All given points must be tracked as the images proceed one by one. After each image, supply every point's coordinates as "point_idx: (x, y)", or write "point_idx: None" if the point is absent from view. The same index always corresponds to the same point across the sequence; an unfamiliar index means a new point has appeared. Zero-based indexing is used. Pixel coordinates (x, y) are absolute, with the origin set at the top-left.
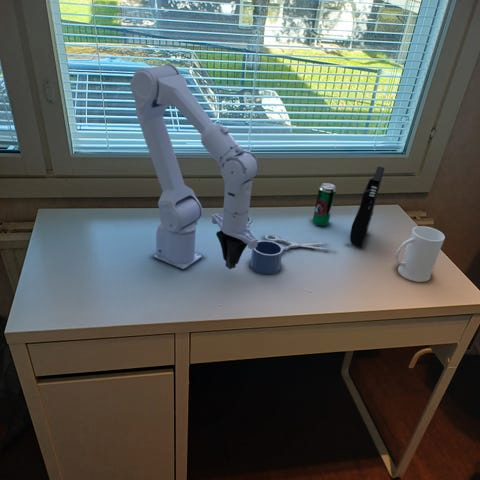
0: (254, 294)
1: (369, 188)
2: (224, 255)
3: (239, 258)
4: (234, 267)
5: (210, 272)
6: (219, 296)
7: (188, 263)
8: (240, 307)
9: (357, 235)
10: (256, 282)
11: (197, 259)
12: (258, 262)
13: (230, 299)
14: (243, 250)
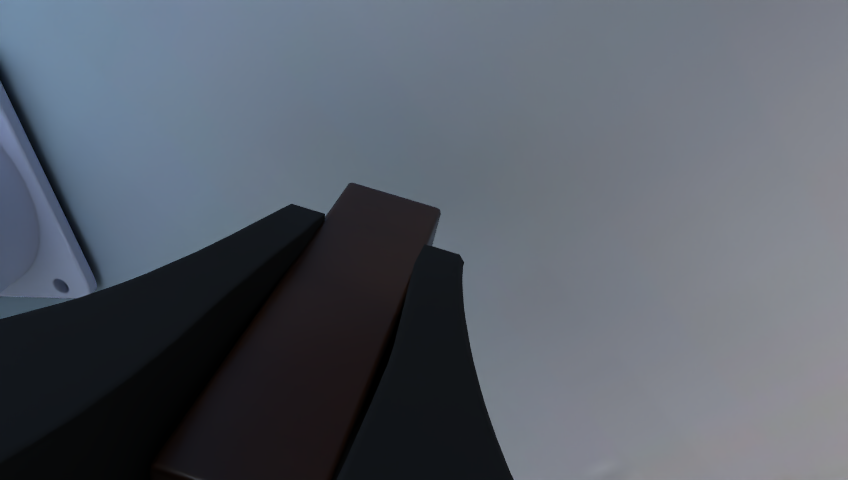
0: (803, 224)
1: None
2: None
3: (462, 308)
4: (436, 225)
5: (236, 182)
6: (536, 402)
7: (45, 227)
8: (766, 434)
9: None
10: (715, 3)
11: (8, 113)
12: None
13: (633, 393)
14: (487, 423)
